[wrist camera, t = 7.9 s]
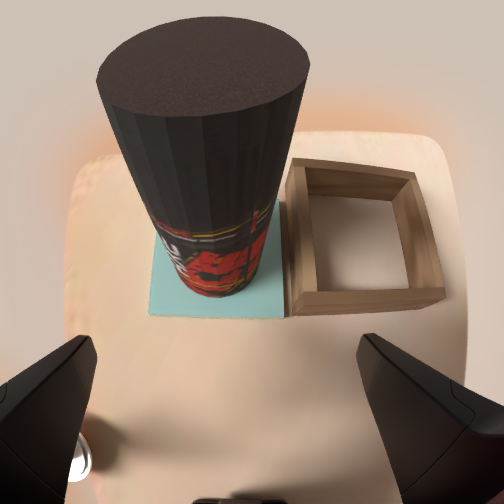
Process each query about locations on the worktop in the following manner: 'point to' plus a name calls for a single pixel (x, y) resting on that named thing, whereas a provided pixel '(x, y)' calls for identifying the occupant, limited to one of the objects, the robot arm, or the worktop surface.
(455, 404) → the robot arm
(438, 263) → the tub
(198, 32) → the deodorant
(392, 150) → the worktop surface
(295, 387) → the worktop surface
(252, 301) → the coaster
